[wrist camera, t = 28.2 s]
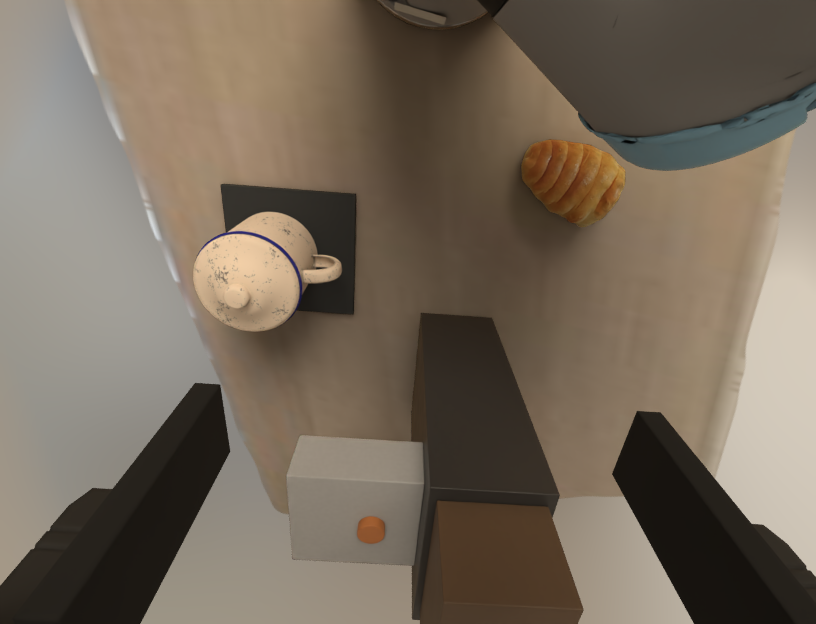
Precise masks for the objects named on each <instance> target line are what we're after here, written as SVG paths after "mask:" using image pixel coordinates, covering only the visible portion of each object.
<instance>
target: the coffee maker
mask: <svg viewBox="0 0 816 624" xmlns="http://www.w3.org/2000/svg"><path fill="white" fill-rule="evenodd" d="M411 432H412V442H406V441H390V440H373V439H357V438H340V437H323V436H307V435H300V436H299V439H298V442H297V445H296V448H295V451H294V454H293V457H292V460H291V463H290V466H289V469H288V472H287V475H286V480H287V494H288V507H289V521H290V534H291V548H292V559H294V560H313V561H331V562H350V563H351V562H352V563H370V564H389V565H409V566H412V619H413V620H420V624H578V622H579V619H580V617H581V615H582V613H583V606H582V604H581V601H580V598H579V595H578V592H577V589H576V586H575V583H574V580H573V577H572V574H571V572H570V569H569V566H568V563H567V560H566V557H565V554H564V551H563V548H562V545H561V542H560V539H559V536H558V534H557V531H556V528H555V525H554V522H553V519H552V517H553V514H554V511H555V508H556V505H557V502H558V499H559V496H560V494H559V492H558V489H557V486H556V484H555V481H554V479H553V476H552V473H551V471H550V468H549V466H548V463H547V460H546V458H545V455H544V453H543V450H542V447H541V445H540V442H539V440H538V437H537V434H536V432H535V429H534V427H533V424H532V421H531V419H530V416H529V413H528V411H527V408H526V406H525V403H524V400H523V398H522V395H521V393H520V390H519V387H518V385H517V382H516V380H515V377H514V374H513V372H512V369H511V367H510V364H509V361H508V359H507V356H506V354H505V351H504V348H503V346H502V343H501V340H500V338H499V335H498V333H497V330H496V327H495V325H494V322H493V320H492V318H487V317H472V316H458V315H443V314H429V313H421V319H420V329H419V340H418V350H417V360H416V370H415V380H414V391H413V401H412V411H411Z"/></svg>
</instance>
